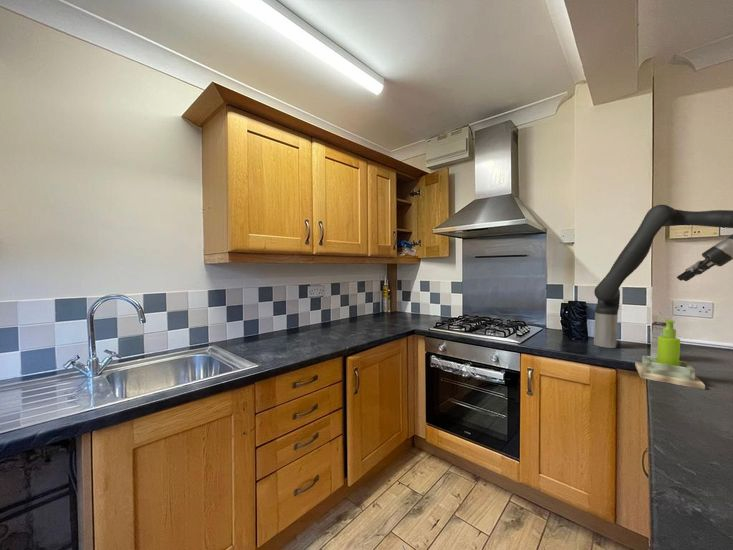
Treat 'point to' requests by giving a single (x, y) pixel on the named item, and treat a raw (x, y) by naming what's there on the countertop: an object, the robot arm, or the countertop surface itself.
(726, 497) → the countertop surface
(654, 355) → the coffee box
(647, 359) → the dispenser caddy
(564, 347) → the countertop surface
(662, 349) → the soap dispenser
